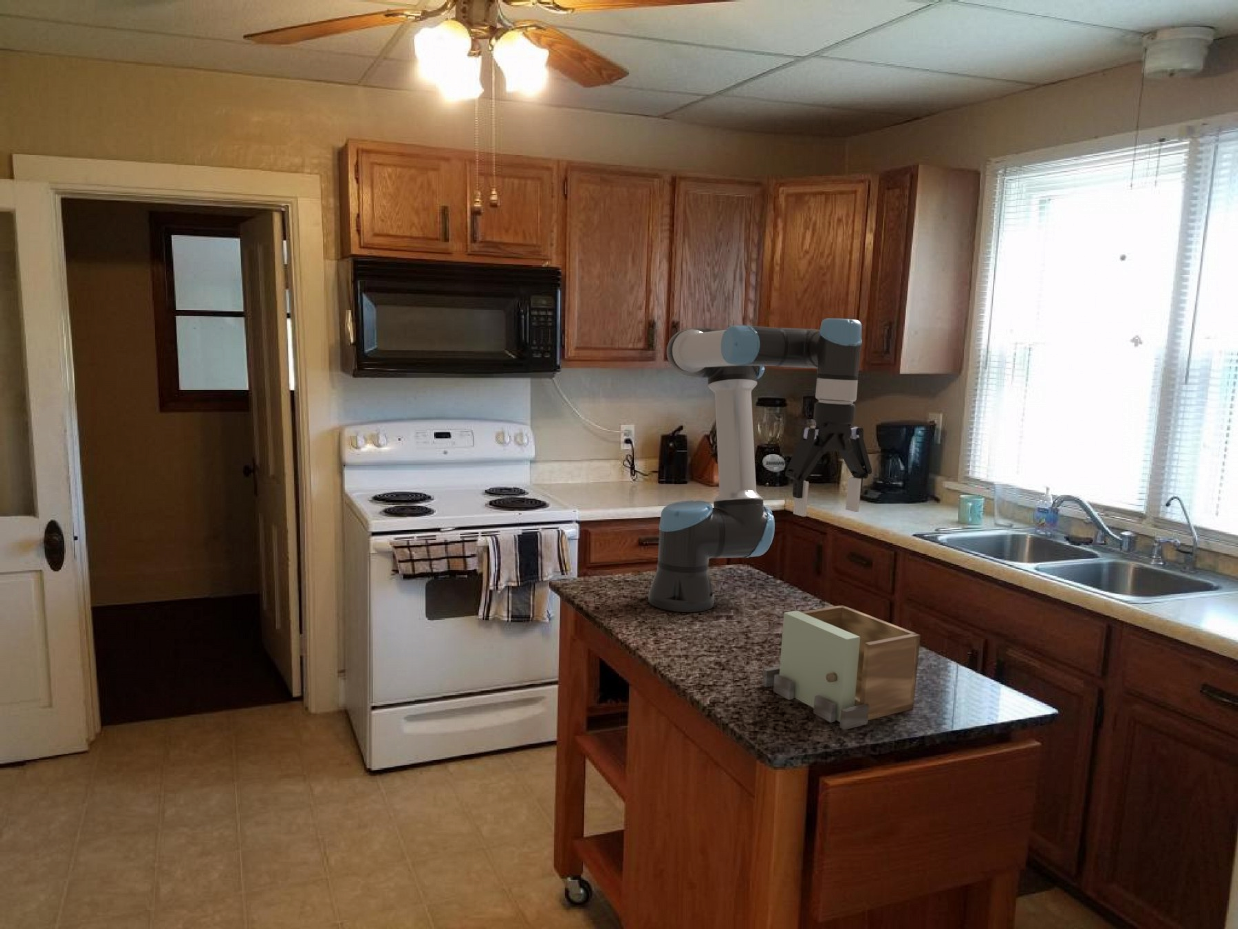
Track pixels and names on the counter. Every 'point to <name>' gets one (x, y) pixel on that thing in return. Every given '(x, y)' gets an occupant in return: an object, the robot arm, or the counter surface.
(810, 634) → the door
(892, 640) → the carcass
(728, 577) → the counter surface
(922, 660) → the counter surface
